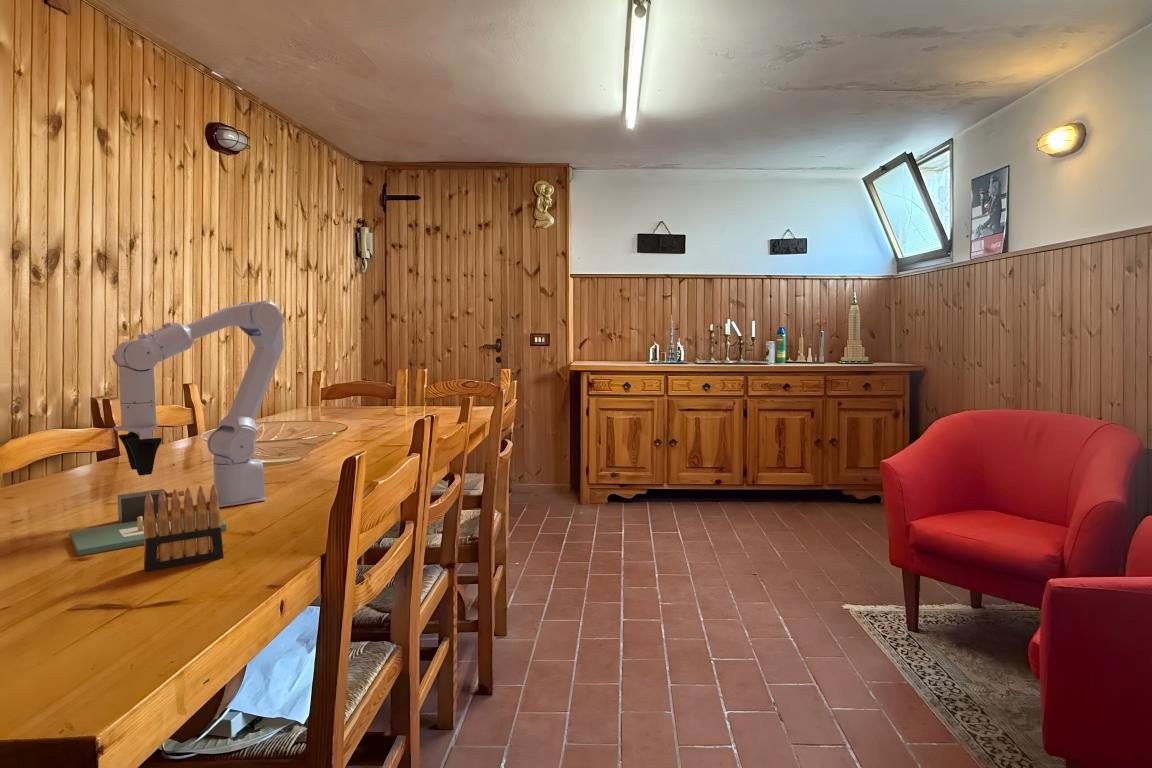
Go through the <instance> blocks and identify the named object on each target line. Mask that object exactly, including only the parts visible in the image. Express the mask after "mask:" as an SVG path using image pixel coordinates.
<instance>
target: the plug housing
mask: <svg viewBox="0 0 1152 768" xmlns="http://www.w3.org/2000/svg"><path fill="white" fill-rule="evenodd" d="M161 491H163V492H164V494H165V497H166V501H167V509H168V510H169V500H168V498H169V499H170V498H171V499H172V494H173V491H171V492H167V490H165V489H163V488H160V489H159V488H158V489H153V490H145V491H139V492H131V493H123V494H117V510H118V513H117V515H118V522H119V524H120V523H127V522H133V521H137V517H140V516H142V517H143V520H144V511H145V499H146V495H147V493H148V492H149V493H150V494H151V497H152V500H153V505H154V514H155V518H157V514H158V499H159V495H160V492H161ZM177 492H178V495H179V497H184V496H185V491H184V490H179V491H177Z"/></svg>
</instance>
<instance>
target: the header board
mask: <svg viewBox="0 0 1152 768" xmlns="http://www.w3.org/2000/svg"><path fill="white" fill-rule="evenodd" d="M194 513H195V528H196V511H194ZM207 513H208V526H209V509H207ZM181 514H182V523H183V513H181ZM157 516H158V514H157ZM170 516H171V515H169V523H170ZM220 522H221V532H224V531H227V524H226V523H225V522H223V521H222V520H221V519H220ZM156 529H157V518H156ZM183 530H184V529H183ZM170 532H171V528H170ZM69 538H70V541H71V543H72V545H73V547H74V550H75V551H76V554H77V555H78V557H81V556H87V555H92V554H98V553H103V552H108V551H109V552H111V551H114V550H120V549H125V548H131V547H136V546H142V545H144V520H143V517H142V516H140V517H137V521H133V522H127V523H120V522H119V523H115V524H109V525H103V526H101V525H100V526H95V527H90V528H88V527H87V528H84V529H83V528H82V529H77V530H70V531H69Z"/></svg>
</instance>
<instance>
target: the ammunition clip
mask: <svg viewBox="0 0 1152 768" xmlns="http://www.w3.org/2000/svg"><path fill="white" fill-rule="evenodd" d="M172 492H173V494H172V497H171V500H170V505H171V506H170V515H169V508H168V509H167V501H166V497H165V494H164V492H163V491H161V492H160V495H159V499H158V516H157V529H156V518H155V514H154V505H153V500H152V497H151V494H150V493H149V492H148V493H147V495H146V499H145V511H144V546H143V547H144V548H143V549H144V553H143V554H144V555H143V557H144V558H143V559H144V561H143V569H144V572H146V573H149V572H153V571H154V572H155V571H159V570H160V571H161V570H164V569H170V568H177V567H181V566H186V565H193V564H197V563H203V562H208V561H216V560H219V559H223V558H225V557H224V548H223V546H224V545H223V535H222V531H221V522H220V520H221V510H220V507H219V503H218V494H217V490H216V487H215V485H214V484H212V485H211V487H210V491H209V499H210V501H209V507H208V508H209V509H207V501H206V494H205V491H204V488H203V487H202V486H201V485H200V486H199V487H198V490H197V495H196V511H195V510H194V503H193V495H192V492H191V489H190V487H186V489H185V491H184V496H183V512H182V509H181V501H180V496H179V495H178V492H179V491H177V489H176V488H174V489H173V491H172ZM207 510H208V511H209V526H208V513H207ZM194 512H196V528H195V513H194ZM182 514H183V523H182ZM169 516H170V523H169ZM170 528H171V532H170ZM183 529H184V530H183Z"/></svg>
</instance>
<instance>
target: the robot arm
mask: <svg viewBox="0 0 1152 768" xmlns="http://www.w3.org/2000/svg"><path fill="white" fill-rule="evenodd" d="M284 321H285V317H284V315H283V313H282V311H281V310H280V307H278V305H277V304H276V303H275V302H273V301H270V300H261V301H243V302H240V303H239V304H233V305H229V306H227V307H224V308H221V309H219V310H217V311H215V312H213V313H210V314H207V315H206V316H204V317H201V318H199V319H197V320H195V321H192V322H191V323H189V324H186V325H184V324H182V323H178V322H174V323H171V322H166V323H162V324H161V328H159V329H157V330H153V331H150V332H149V333H142V332H141V333H139V334H137V339H136V340H125V341H123V342H121V343H119V344H118V345H117V347H115V350H114V353H113V354H112V360H113V362H114V364H115V365H116V366H117V367H118V375H119V376H118V378H119V379H118V385H119V404H120V406H119V407H120V423H121V424H120V425H114V426H113V430H114V431H123V432H128V433H126V434H118V435H117V436H118V438H119V440H120V441H121V443H122V445H123V447H124V449H125V452H126V456H127V459H128V462H129V466H130V469H131V470H136V472H137V475H138V476H148V475H152V473H153V471H154V465H155V459H156V454H157V453H158V452H157V451H158V450H159V448H160V446H161V443H162V441H163V438H161V437H154V436H153V435H154V432H153V431H155V430H157V429H158V428H159V427H158V425H159V423H157V405H156V391H155V390H156V388H155V387H156V386H155V374H154V373H155V371H154V368H155V367H156V366H157V365H158V362H162V361H165V360H167V359H169V358H171V357H174V356H176V355H178V354H181V353H182V352H186V351H188V350H189V349H191V348H192V346H193V345H194V341H195V340H197V339H200V338H202V337H205V336H207V335H210V334H212V333H214V332H215V333H216V332H218V331H220V330H222V329H225V328H228V327H238V328H239V329H240V330H241V331H242V332H243V333H245V334H246V335H247V337H248V338H249V339H250V340H251V343H252V344H253V345H254V347H255V348H254V350H253V352H252V355H251V357H250V360H249V363H248V365H247V368H246V369H245V372H244V375H243V378H242V379H241V383H240V385H239V387H238V390H237V392H236V395H235V397H234V400H233V402H232V405H231V407H230V409H229V412H228V413H227V415H226V416H224V417H223V418H222V419H221V420H220V421H219V423H218V426H217V427H216V429H215V430H214V431H212V433H210V434H209V436H208V439H207V443H206V444H207V449H208V452H210V454H211V455H213V459H212V465H213V466H212V467H213V469H212V470H213V485H215V487H216V490H217V494H218V503H219V508H223V507H231V506H236V505H244V504H249V503H257V502H263V501H266V500H267V499H266V497H265V496H266V494H265V493H266V492H265V472H264V471H265V470H264V465H263V462H262V460H261V459H260V458H252V456H253V455H254V453H255V451H256V447H257V444H256V443H257V442H256V439H257V437H256V436H257V434H258V432H259V431H258V427H257V424H256V422H255V421H256V418H257V416H258V414H259V411H260V409H261V405H262V403H263V400H264V398H265V397H266V393H267V391H268V388H269V385H270V383H271V381H272V378H273V376H274V373H275V371H276V367H277V366H278V364H279V360H280V358H281V355H282V353H283V350H284V346H285V345H284V334H283V323H284ZM208 501H209V502H210V498H208Z"/></svg>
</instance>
